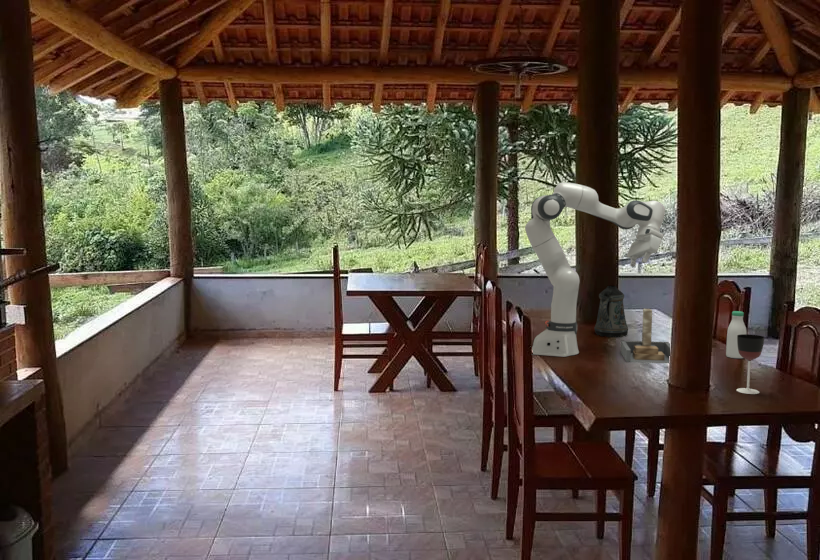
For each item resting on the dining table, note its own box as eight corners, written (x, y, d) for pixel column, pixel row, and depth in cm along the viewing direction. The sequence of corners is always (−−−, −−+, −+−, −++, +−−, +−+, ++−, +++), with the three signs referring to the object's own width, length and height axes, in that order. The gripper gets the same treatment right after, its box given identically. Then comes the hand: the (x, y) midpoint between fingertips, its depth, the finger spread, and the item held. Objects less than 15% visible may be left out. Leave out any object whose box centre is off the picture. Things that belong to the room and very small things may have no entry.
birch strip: (643, 356, 299) (644, 310, 296) (641, 353, 304) (643, 308, 301) (650, 356, 298) (652, 310, 296) (648, 353, 303) (650, 308, 301)
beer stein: (625, 331, 360) (627, 284, 357) (630, 339, 341) (632, 289, 339) (592, 330, 363) (594, 283, 360) (596, 338, 344) (597, 288, 341)
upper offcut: (635, 353, 293) (636, 348, 293) (634, 351, 298) (634, 345, 298) (658, 354, 292) (658, 348, 291) (656, 351, 297) (656, 346, 296)
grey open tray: (626, 365, 289) (626, 350, 288) (620, 354, 308) (620, 340, 307) (676, 367, 286) (677, 351, 285) (667, 356, 305) (668, 341, 304)
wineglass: (764, 394, 246) (767, 339, 243) (738, 393, 247) (740, 338, 245) (757, 388, 253) (760, 334, 251) (731, 387, 255) (734, 334, 252)
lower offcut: (634, 359, 293) (634, 353, 293) (632, 356, 299) (632, 350, 299) (664, 360, 291) (664, 354, 291) (661, 357, 297) (662, 351, 297)
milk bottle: (747, 359, 299) (749, 313, 296) (728, 358, 300) (730, 312, 298) (742, 355, 306) (745, 310, 304) (724, 354, 308) (726, 310, 305)
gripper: (628, 238, 316) (620, 265, 313) (653, 228, 296) (644, 257, 294) (640, 243, 317) (632, 270, 314) (666, 234, 297) (657, 263, 294)
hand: (638, 264), depth 304 cm, fingers open, 8 cm apart
